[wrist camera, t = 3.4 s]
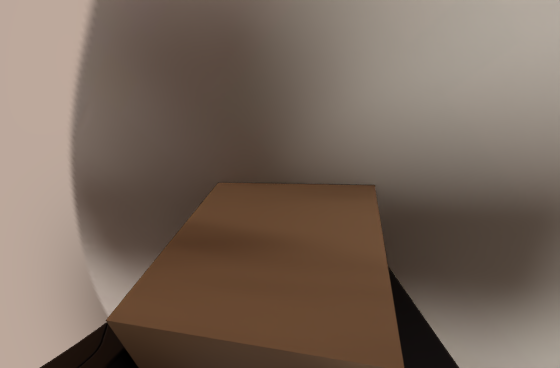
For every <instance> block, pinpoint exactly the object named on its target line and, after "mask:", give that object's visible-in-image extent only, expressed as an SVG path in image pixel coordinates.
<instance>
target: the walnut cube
mask: <svg viewBox="0 0 560 368" xmlns="http://www.w3.org/2000/svg"><path fill="white" fill-rule="evenodd" d="M106 321H107V323H108V324H109V326H110V327H111V328H112V330H113V331H114V333H115V334H116V336H117V337H118V339H119V340H120V341H121V343H122V344H123V346H124V347H125V349H126V350H127V352H128V353H129V354H130V356H131V357H132V359H133V360H134V362H135V363H136V365H137V366H138V367H139V368H404V363H403V357H402V351H401V345H400V339H399V333H398V326H397V320H396V314H395V308H394V302H393V295H392V289H391V283H390V277H389V271H388V265H387V258H386V252H385V246H384V240H383V234H382V227H381V221H380V215H379V209H378V203H377V197H376V190H375V185H330V184H270V183H218V184H217V185H216V186H215V187H214V188H213V190H212V191H211V192H210V193H209V195H208V196H207V197H206V198H205V199H204V201H203V202H202V203H201V204H200V206H199V207H198V208H197V209H196V211H195V212H194V213H193V214H192V215H191V217H190V218H189V219H188V220H187V222H186V223H185V224H184V225H183V226H182V228H181V229H180V230H179V231H178V233H177V234H176V235H175V236H174V237H173V239H172V240H171V241H170V242H169V244H168V245H167V246H166V247H165V248H164V250H163V251H162V252H161V253H160V255H159V256H158V257H157V258H156V260H155V261H154V262H153V263H152V264H151V266H150V267H149V268H148V269H147V271H146V272H145V273H144V274H143V275H142V277H141V278H140V279H139V280H138V282H137V283H136V284H135V285H134V286H133V288H132V289H131V290H130V291H129V293H128V294H127V295H126V296H125V297H124V299H123V300H122V301H121V302H120V304H119V305H118V306H117V307H116V308H115V310H114V311H113V312H112V313H111V315H110V316H109V317H108V318H107V320H106Z"/></svg>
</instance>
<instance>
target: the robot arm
mask: <svg viewBox="0 0 560 368" xmlns="http://www.w3.org/2000/svg"><path fill="white" fill-rule="evenodd" d="M388 271H389V277H390V283H391V289H392V295H393V302H394V308H395V314H396V320H397V326H398V333H399V339H400V345H401V351H402V357H403V363H404V368H459V367H458V365H457V364H456V363H455V361H454V360H453V358H452V357H451V355H450V354H449V353H448V351H447V350H446V348H445V347H444V345H443V344H442V343H441V341H440V340H439V338H438V337H437V335H436V334H435V333H434V331H433V330H432V328H431V327H430V325H429V324H428V323H427V321H426V320H425V318H424V317H423V315H422V314H421V313H420V311H419V310H418V308H417V307H416V305H415V304H414V303H413V301H412V300H411V298H410V297H409V295H408V294H407V293H406V291H405V290H404V288H403V287H402V285H401V284H400V282H399V281H398V280H397V278H396V277H395V275H394V274H393V272H392V271H391V270H390V268H389V267H388ZM40 368H139V367H138V366H137V365H136V363H135V362H134V360H133V359H132V357H131V356H130V354H129V353H128V352H127V350H126V349H125V347H124V346H123V344H122V343H121V341H120V340H119V339H118V337H117V336H116V334H115V333H114V331H113V330H112V328H111V327H110V326H109V324H108V323H105V324H104V325H102V326H101V327H99V328H98V329H97V330H95V331H94V332H92V333H91V334H90V335H88V336H87V337H85V338H84V339H82V340H81V341H80V342H78V343H77V344H75V345H74V346H72V347H71V348H69V349H68V350H66V351H65V352H63V353H62V354H60V355H59V356H57V357H56V358H54V359H53V360H51V361H50V362H48V363H46V364H45V365H43V366H42V367H40Z"/></svg>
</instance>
